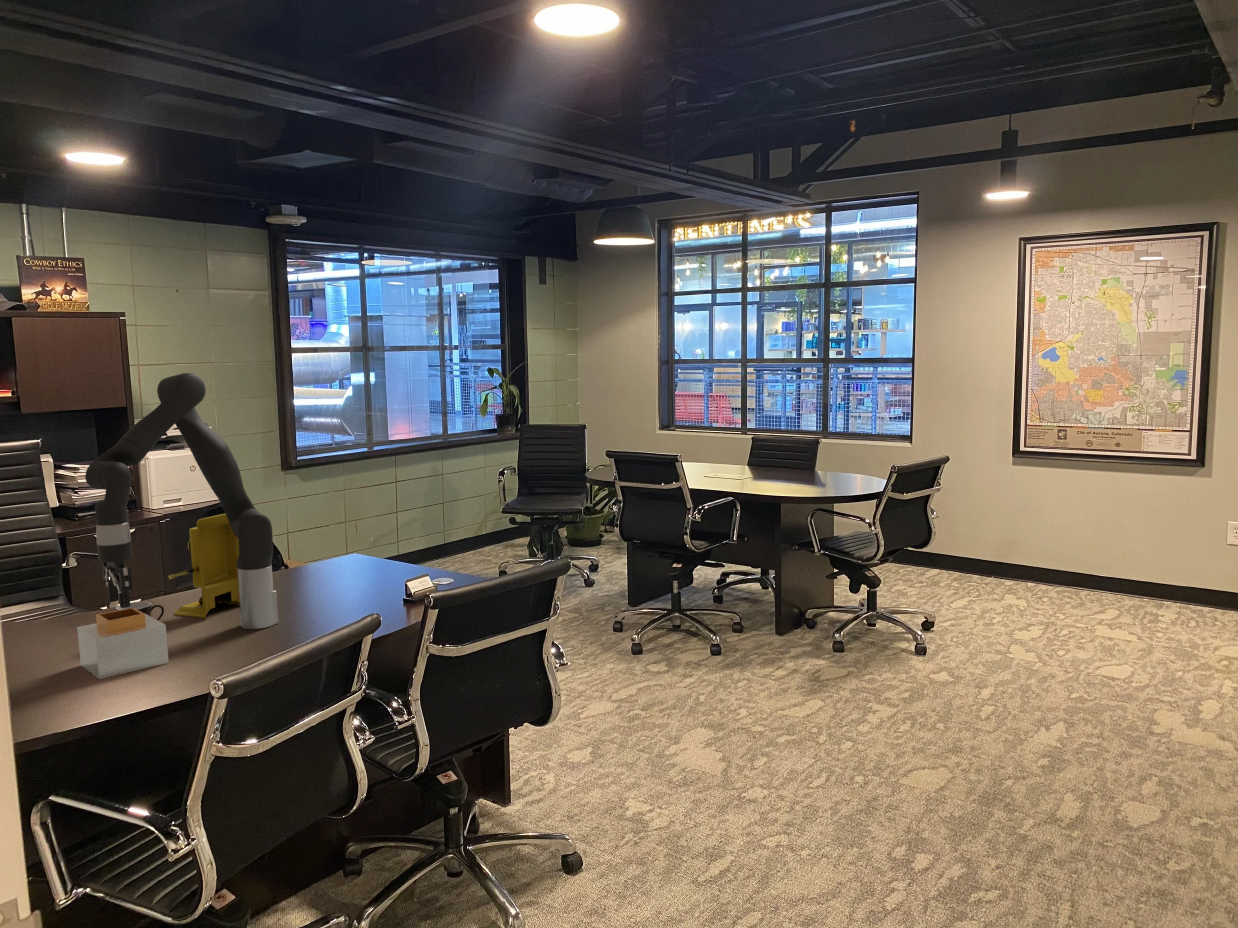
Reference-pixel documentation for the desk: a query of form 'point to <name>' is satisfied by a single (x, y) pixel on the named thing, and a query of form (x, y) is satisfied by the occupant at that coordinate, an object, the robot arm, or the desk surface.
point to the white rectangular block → (122, 643)
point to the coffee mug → (143, 608)
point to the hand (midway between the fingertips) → (119, 604)
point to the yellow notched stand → (212, 565)
